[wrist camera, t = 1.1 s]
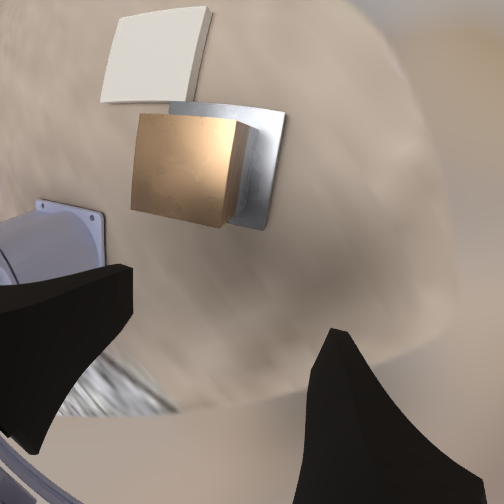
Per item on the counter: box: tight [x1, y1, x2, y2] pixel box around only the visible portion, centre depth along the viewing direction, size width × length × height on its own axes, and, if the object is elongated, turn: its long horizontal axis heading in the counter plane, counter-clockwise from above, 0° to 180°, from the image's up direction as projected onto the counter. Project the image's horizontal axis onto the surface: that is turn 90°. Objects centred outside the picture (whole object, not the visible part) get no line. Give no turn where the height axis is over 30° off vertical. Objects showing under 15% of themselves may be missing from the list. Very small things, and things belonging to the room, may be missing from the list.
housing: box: [131, 114, 259, 228], centre depth 14 cm, size 4×4×5 cm
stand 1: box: [100, 6, 213, 104], centre depth 15 cm, size 7×7×1 cm
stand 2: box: [169, 101, 287, 231], centre depth 16 cm, size 7×7×1 cm
